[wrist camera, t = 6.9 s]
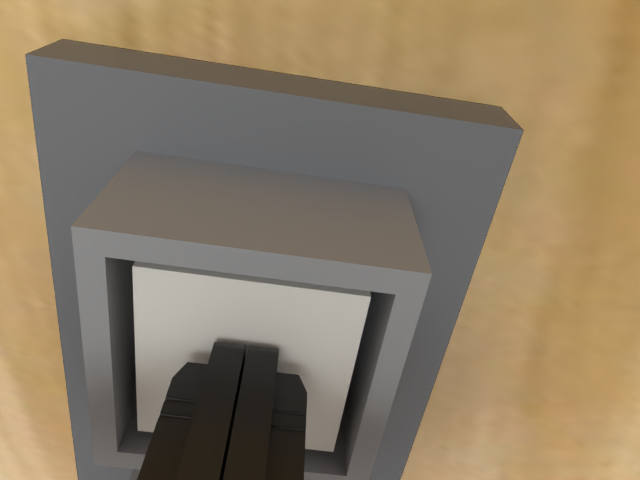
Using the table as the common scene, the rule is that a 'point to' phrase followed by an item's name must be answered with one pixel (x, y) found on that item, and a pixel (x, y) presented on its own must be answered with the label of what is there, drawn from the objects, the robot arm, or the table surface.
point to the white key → (246, 334)
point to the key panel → (258, 223)
